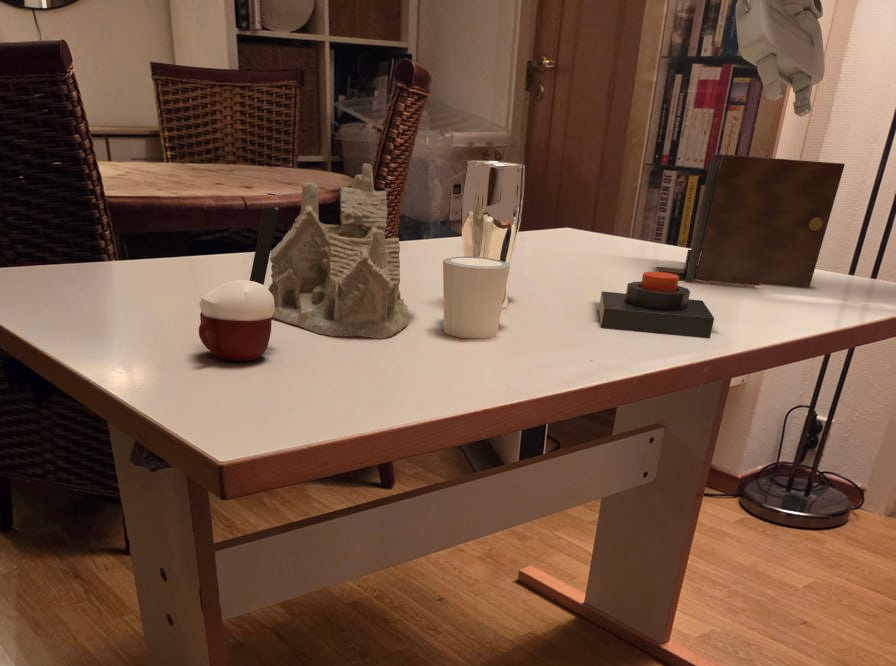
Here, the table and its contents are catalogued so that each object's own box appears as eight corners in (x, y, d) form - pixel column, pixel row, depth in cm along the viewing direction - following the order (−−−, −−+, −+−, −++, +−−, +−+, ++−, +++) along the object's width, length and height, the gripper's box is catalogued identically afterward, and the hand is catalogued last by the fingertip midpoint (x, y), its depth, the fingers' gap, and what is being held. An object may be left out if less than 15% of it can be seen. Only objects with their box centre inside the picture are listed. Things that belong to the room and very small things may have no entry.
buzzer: (698, 319, 104) (706, 284, 102) (709, 338, 96) (718, 300, 93) (598, 310, 105) (604, 275, 103) (600, 328, 97) (607, 290, 95)
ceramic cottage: (273, 296, 100) (272, 148, 91) (414, 313, 99) (427, 166, 90) (238, 336, 87) (233, 169, 78) (399, 356, 87) (412, 191, 78)
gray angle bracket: (690, 276, 130) (697, 248, 128) (694, 281, 127) (700, 251, 125) (655, 273, 131) (661, 244, 129) (657, 278, 128) (663, 248, 125)
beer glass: (497, 298, 108) (512, 161, 100) (520, 310, 102) (537, 166, 94) (445, 298, 106) (456, 158, 98) (466, 310, 100) (478, 164, 92)
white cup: (428, 325, 93) (432, 255, 89) (485, 323, 95) (492, 255, 91) (453, 341, 87) (459, 267, 84) (513, 339, 90) (522, 267, 86)
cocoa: (208, 371, 73) (197, 216, 67) (179, 353, 78) (166, 205, 71) (306, 359, 78) (304, 214, 72) (273, 343, 83) (269, 204, 76)
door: (806, 288, 125) (842, 163, 117) (810, 291, 123) (847, 164, 114) (684, 277, 127) (711, 153, 118) (686, 280, 125) (713, 154, 116)
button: (673, 289, 100) (677, 273, 99) (677, 296, 96) (681, 279, 96) (639, 286, 100) (642, 270, 99) (641, 292, 97) (644, 276, 96)
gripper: (764, -44, 105) (781, 74, 106) (826, 7, 119) (841, 110, 120) (716, -12, 110) (733, 100, 111) (781, 33, 124) (795, 132, 125)
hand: (789, 106), depth 116 cm, fingers open, 8 cm apart
